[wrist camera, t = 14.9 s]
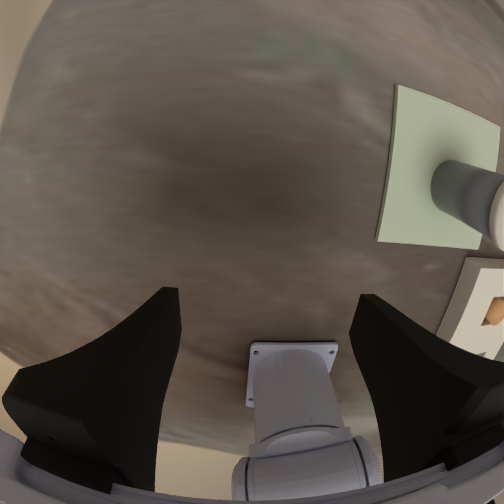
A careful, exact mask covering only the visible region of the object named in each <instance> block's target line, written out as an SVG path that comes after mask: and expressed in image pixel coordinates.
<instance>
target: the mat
mask: <svg viewBox="0 0 504 504" xmlns="http://www.w3.org/2000/svg"><path fill="white" fill-rule="evenodd" d="M499 139H500V127H499V126H497V125H495V124H493V123H491V122H490V121H488V120H486V119H484V118H482V117H480V116H477V115H475V114H473V113H471V112H469V111H467V110H465V109H462V108H460V107H458V106H455V105H453V104H451V103H448V102H446V101H443V100H441V99H438V98H436V97H433V96H430V95H428V94H425V93H422V92H419V91H416V90H413V89H410V88H407V87H404V86H401V85H395V97H394V113H393V125H392V135H391V144H390V153H389V161H388V168H387V175H386V182H385V188H384V194H383V200H382V206H381V211H380V217H379V222H378V227H377V232H376V237H375V239H376V240H377V241H380V242H393V243H406V244H418V245H431V246H442V247H454V248H465V249H476V250H478V248H479V245H480V241H481V238H482V234H481V233H480V232H478V231H476V230H475V229H473V228H471V227H470V226H468V225H466V224H464V223H463V222H461V221H459V220H457V219H456V218H454V217H452V216H450V215H448V214H447V213H445V212H443V211H441V210H440V209H438V208H437V207H436V205H435V204H434V202H433V200H432V196H431V180H432V176H433V174H434V172H435V170H436V168H437V167H438V166H439V165H440V164H441V163H442V162H444V161H446V160H455V161H459V162H462V163H466V164H469V165H473V166H476V167H480V168H483V169H486V170H489V171H493V172H496V166H497V158H498V149H499Z"/></svg>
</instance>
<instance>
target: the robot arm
mask: <svg viewBox="0 0 504 504" xmlns="http://www.w3.org/2000/svg"><path fill="white" fill-rule="evenodd" d="M181 331H182V327H181V317H180V305H179V293H178V288H172V287H162V288H161V289H160V290H159V291H157V292H156V293H155V294H154V295H153V296H152V297H151V298H150V299H148V300H147V301H146V302H145V303H144V304H143V305H142V306H141V307H139V308H138V309H137V310H136V311H135V312H134V313H132V314H131V315H130V316H128V317H127V318H126V319H125V320H123V321H122V322H121V323H119V324H118V325H117V326H115V327H114V328H113V329H111V330H110V331H108V332H107V333H105V334H104V335H102V336H100V337H99V338H97V339H95V340H94V341H92V342H90V343H88V344H86V345H84V346H82V347H80V348H78V349H76V350H74V351H72V352H70V353H68V354H65V355H63V356H61V357H58V358H55V359H53V360H50V361H47V362H44V363H40V364H37V365H33V366H30V367H26V368H22V369H19V370H18V372H17V373H16V375H15V377H14V378H13V380H12V381H11V383H10V385H9V386H8V388H7V390H6V391H5V393H4V395H3V396H2V403H3V406H4V408H5V410H6V411H7V413H8V414H9V416H10V417H11V418H12V419H13V421H14V422H15V423H16V424H17V426H18V427H19V428H20V429H21V430H22V431H23V433H24V434H25V435H26V436H27V437H28V438H27V440H26V442H25V444H24V443H23V442H21V441H20V440H19V439H17V438H15V437H13V436H12V435H10V434H8V433H6V432H4V431H2V430H1V429H0V502H1V503H3V504H486V503H488V502H489V501H491V500H492V499H493V498H495V497H496V496H498V495H499V494H500V493H502V492H503V491H504V427H503V425H502V424H501V422H503V421H504V416H503V414H502V411H503V410H504V362H500V361H495V360H491V359H488V358H485V357H482V356H479V355H476V354H473V353H471V352H468V351H466V350H464V349H461V348H459V347H457V346H455V345H453V344H450V343H449V342H447V341H445V340H443V339H441V338H439V337H437V336H436V335H434V334H432V333H431V332H429V331H428V330H426V329H425V328H423V327H421V326H420V325H418V324H417V323H415V322H414V321H412V320H411V319H410V318H408V317H407V316H405V315H404V314H403V313H401V312H400V311H398V310H397V309H396V308H394V307H393V306H391V305H390V304H389V303H387V302H386V301H384V300H383V299H381V298H380V297H378V296H376V295H375V294H361V295H360V298H359V302H358V305H357V308H356V312H355V315H354V318H353V322H352V325H351V328H350V331H349V336H350V340H351V345H352V349H353V352H354V355H355V358H356V360H357V363H358V365H359V368H360V371H361V373H362V375H363V378H364V380H365V383H366V385H367V388H368V391H369V393H370V396H371V399H372V402H373V406H374V410H375V414H376V418H377V423H378V428H379V434H380V440H381V447H382V456H383V467H384V468H383V469H384V483H383V482H382V474H381V469H380V464H379V461H378V457H377V454H376V452H375V449H374V447H373V445H372V444H371V442H370V441H368V440H366V439H364V438H363V437H362V436H356V437H353V438H352V434H351V431H350V427H344V423H343V420H342V416H341V413H340V409H339V406H338V402H337V399H336V395H335V392H334V388H333V385H332V382H331V378H330V375H329V374H330V371H331V368H332V365H333V362H334V359H335V356H336V353H337V350H338V345H337V343H336V342H313V343H273V342H254V343H252V344H251V347H250V359H249V370H248V382H247V393H246V406H247V407H254V428H255V444H251V445H249V448H250V457H242V458H241V459H240V460H239V462H238V464H236V466H235V467H234V469H233V473H232V484H231V486H232V500H213V499H201V498H190V497H182V496H175V495H168V494H162V493H155V492H154V491H155V467H156V454H157V444H158V435H159V427H160V420H161V413H162V407H163V402H164V398H165V394H166V390H167V387H168V384H169V380H170V377H171V373H172V370H173V367H174V363H175V360H176V357H177V353H178V349H179V343H180V337H181ZM332 350H333V351H332ZM254 351H258V352H254ZM330 351H331V352H330Z"/></svg>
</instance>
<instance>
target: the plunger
mask: <svg viewBox="0 0 504 504" xmlns="http://www.w3.org/2000/svg"><path fill="white" fill-rule="evenodd" d="M485 318H486V319H487V320H488V321H489V322H490V323H491V324H492V325H493V326H495V325H497V324H499V323H500V322H501V321H502V320H503V318H504V301H503V300H502V299H501V298H500V297H493V300H492V302H491V304H490V307H489V309H488V311H487V313H486V316H485Z"/></svg>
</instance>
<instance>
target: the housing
mask: <svg viewBox="0 0 504 504" xmlns="http://www.w3.org/2000/svg"><path fill="white" fill-rule="evenodd" d="M493 297H500V298H501V299H502V300H503V301H504V259H492V258H478V257H466V258H465V261H464V265H463V268H462V271H461V274H460V276H459V279H458V282H457V285H456V288H455V290H454V293H453V295H452V298H451V301H450V303H449V306H448V308H447V310H446V313H445V315H444V317H443V320H442V322H441V324H440V326H439V329H438V331H437V333H436V336H437V337H439V338H441V339H443V340H445V341H447V342H449V343H450V344H453V345H455V346H457V347H459V348H461V349H464V350H466V351H468V352H471V353H473V354H476V355H479V356H482V357H485V358H488V359H491V360H493V359H494V358H495V356H496V354H497V352H498V351H499V349H500V347H501V345H502V344H503V342H504V318H503V320H502V321H501V322H500V323H499V324H497V325H495V326H493V325H492V324H491V323H490V322H489V321H488V320H487V319H486V318H485V316H486V313H487V311H488V309H489V307H490V304H491V302H492V300H493Z"/></svg>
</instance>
